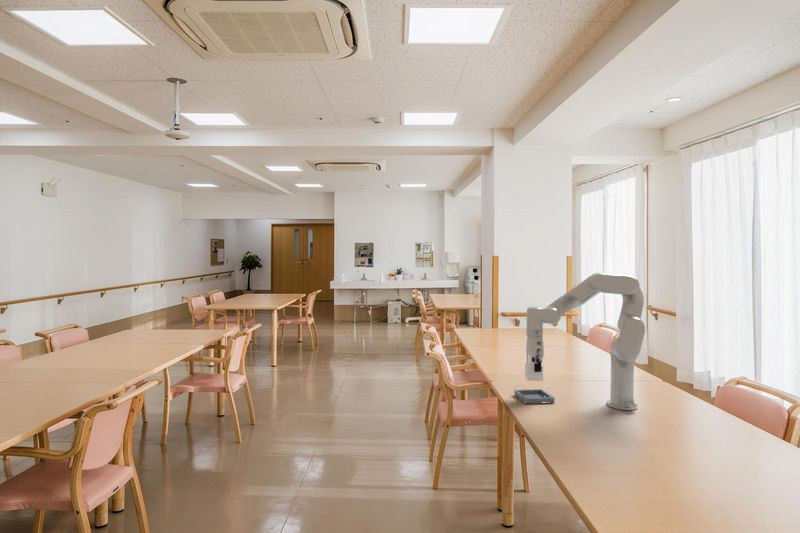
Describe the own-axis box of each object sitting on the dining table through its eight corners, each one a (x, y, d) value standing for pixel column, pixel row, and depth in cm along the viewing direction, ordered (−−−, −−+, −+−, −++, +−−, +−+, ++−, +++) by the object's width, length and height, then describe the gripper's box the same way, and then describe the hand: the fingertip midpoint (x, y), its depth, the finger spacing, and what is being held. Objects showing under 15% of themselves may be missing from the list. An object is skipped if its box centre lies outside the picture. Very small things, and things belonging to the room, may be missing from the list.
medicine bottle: (539, 377, 220) (540, 352, 219) (543, 381, 212) (543, 355, 212) (524, 376, 220) (525, 352, 220) (527, 380, 213) (527, 355, 213)
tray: (554, 403, 210) (554, 397, 210) (525, 404, 209) (525, 398, 209) (541, 394, 224) (541, 389, 224) (514, 395, 223) (514, 390, 223)
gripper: (550, 336, 208) (549, 374, 208) (534, 330, 225) (533, 365, 225) (534, 336, 207) (533, 374, 207) (520, 330, 224) (519, 365, 224)
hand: (533, 369), depth 216 cm, fingers closed on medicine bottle, 8 cm apart
